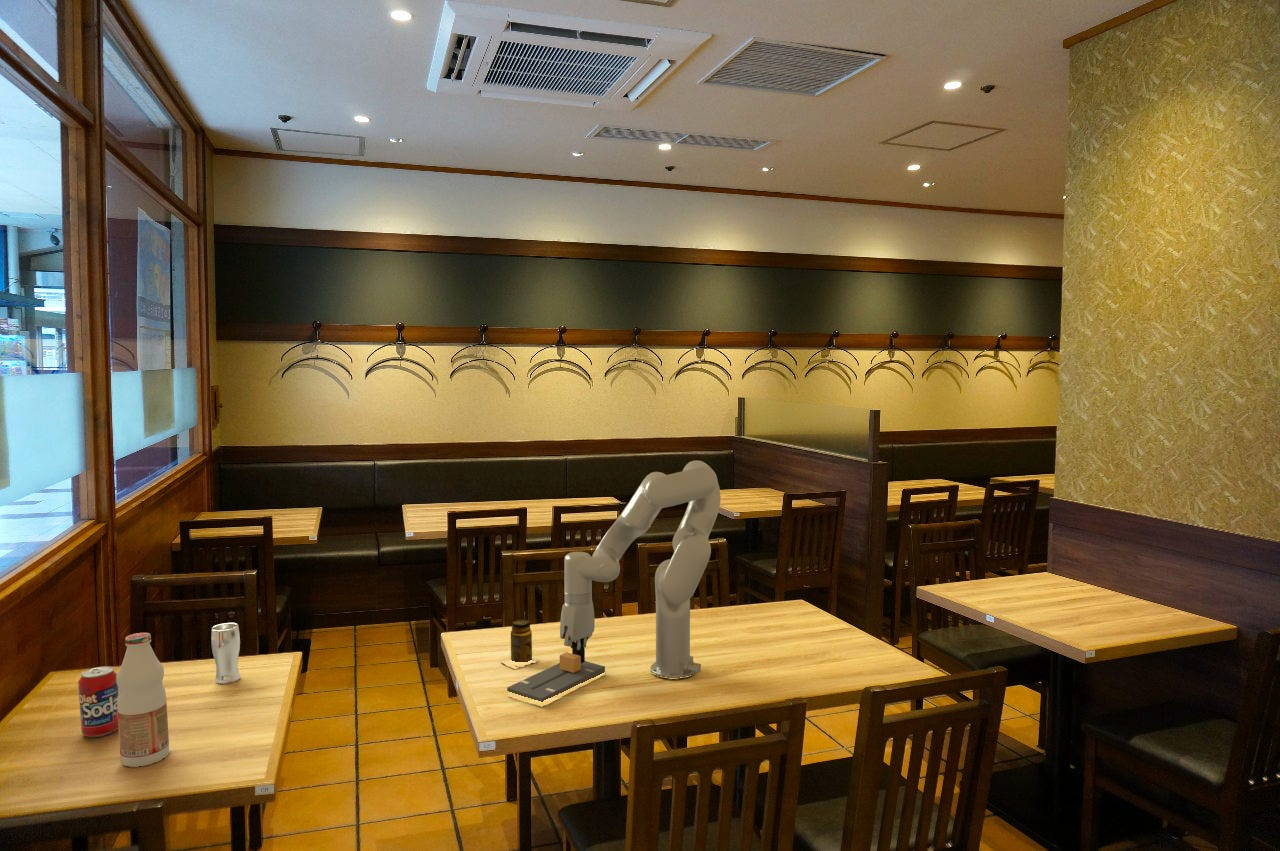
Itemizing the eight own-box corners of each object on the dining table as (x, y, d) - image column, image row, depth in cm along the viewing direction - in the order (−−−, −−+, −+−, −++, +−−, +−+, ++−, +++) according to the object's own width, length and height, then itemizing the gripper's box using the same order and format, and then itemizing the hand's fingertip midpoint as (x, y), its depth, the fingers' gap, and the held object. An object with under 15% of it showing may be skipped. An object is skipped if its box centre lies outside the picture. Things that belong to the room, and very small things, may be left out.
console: (571, 665, 241) (571, 656, 240) (604, 675, 234) (604, 665, 234) (507, 696, 220) (507, 686, 219) (541, 708, 213) (541, 697, 212)
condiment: (538, 662, 243) (537, 622, 242) (514, 670, 238) (513, 629, 236) (523, 655, 249) (522, 616, 248) (499, 663, 243) (498, 622, 242)
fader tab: (566, 665, 233) (566, 652, 233) (580, 669, 230) (580, 655, 230) (559, 668, 231) (559, 655, 231) (573, 672, 228) (573, 659, 228)
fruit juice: (128, 773, 181) (120, 646, 178) (115, 758, 188) (106, 636, 185) (175, 757, 188) (168, 635, 185) (161, 743, 194) (154, 625, 192)
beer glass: (230, 685, 227) (227, 631, 226) (207, 683, 229) (204, 630, 227) (247, 675, 234) (244, 623, 233) (225, 674, 236) (222, 621, 234)
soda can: (113, 721, 206) (109, 662, 205) (126, 730, 201) (122, 670, 200) (76, 733, 200) (72, 671, 199) (88, 742, 195) (84, 680, 194)
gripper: (585, 588, 240) (585, 651, 242) (549, 601, 228) (550, 667, 230) (605, 593, 236) (605, 657, 238) (570, 606, 224) (571, 673, 226)
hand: (578, 661), depth 234 cm, fingers closed
